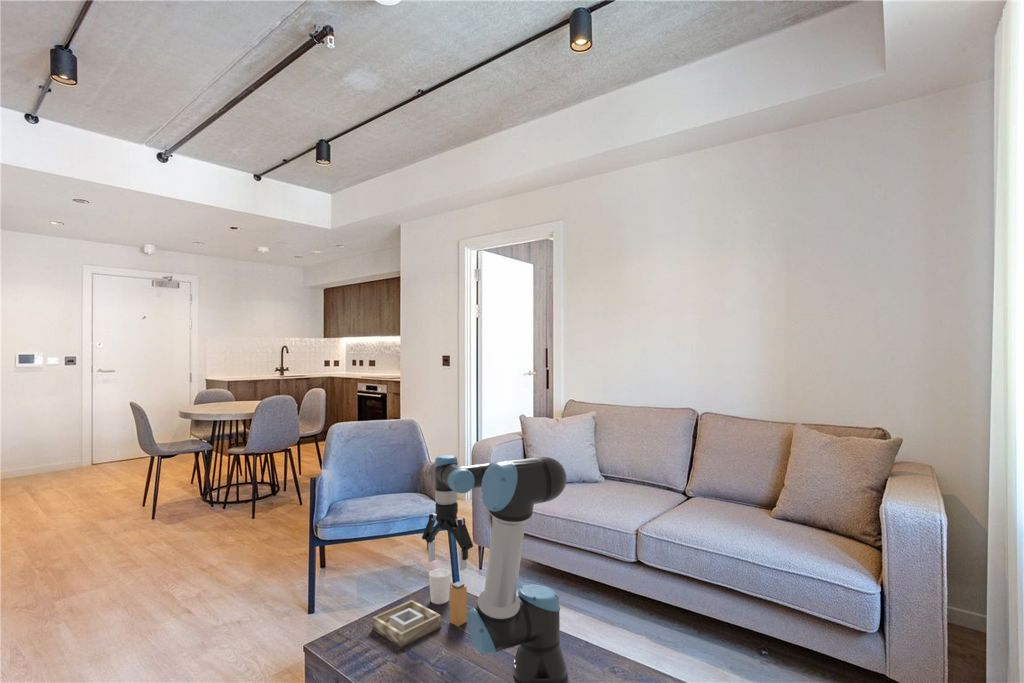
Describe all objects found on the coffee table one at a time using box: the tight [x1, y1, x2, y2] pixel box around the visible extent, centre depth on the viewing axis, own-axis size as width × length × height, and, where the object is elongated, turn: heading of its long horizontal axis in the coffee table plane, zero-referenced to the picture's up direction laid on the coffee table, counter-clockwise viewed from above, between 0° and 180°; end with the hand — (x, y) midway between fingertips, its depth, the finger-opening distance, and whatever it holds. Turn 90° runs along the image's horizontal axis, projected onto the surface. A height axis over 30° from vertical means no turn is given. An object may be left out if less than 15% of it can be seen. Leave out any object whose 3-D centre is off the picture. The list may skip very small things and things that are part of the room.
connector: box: [449, 580, 468, 627], centre depth 174 cm, size 4×4×13 cm
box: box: [371, 599, 442, 648], centre depth 170 cm, size 16×16×4 cm
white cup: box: [428, 568, 451, 605], centre depth 189 cm, size 8×8×10 cm
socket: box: [390, 608, 424, 632], centre depth 170 cm, size 8×8×3 cm
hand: (447, 565), depth 173 cm, fingers open, 13 cm apart
